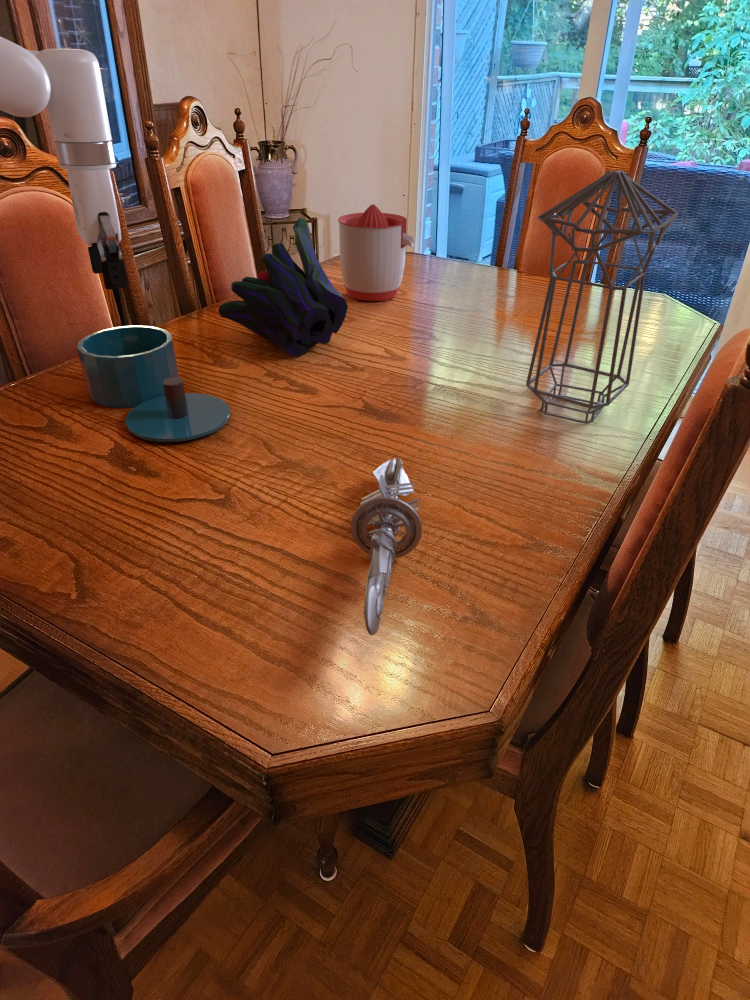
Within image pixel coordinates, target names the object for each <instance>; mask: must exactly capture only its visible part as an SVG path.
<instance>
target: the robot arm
mask: <svg viewBox="0 0 750 1000" xmlns="http://www.w3.org/2000/svg"><path fill="white" fill-rule="evenodd" d="M105 96H106V95H105V91H104V84H103V79H102V73H101V68H100V64H99V60H98V58H97V57H96V55H95V53H93V52H92V51H89V50H86V49H78V48H44V49H42V50H33V49H26V48H25V47H23V46H21V45H19V44H17V43H15V42H13V41H11V40H9V39H7V38H4V37H2V36H0V111H1V112H3V113H7V114H9V115H10V116H14V117H18V118H31V117H34V116H36V115H38V114H40V113H42V112H43V111H44V110H46V111H47V115H48V120H49V124H50V129H51V134H52V138H53V143H54V147H55V152H56V156H57V161H58V167H59V168H60V169H64V170H66V171H67V173H66V174H67V178H68V180H67V181H68V187H69V192H70V199H71V204H72V210H73V215H74V220H75V227H76V232H77V235H78V237H80V239H81V240H82V241H83V242H84V243H85V244H86V245H87V251H88V255H89V256H88V257H89V260H90V261H89V262H90V266H91V270H92V272H93V274H97V275H98V274H101V275H102V280H103V286H104V288H105V289H106V290H108V291H109V290H119V289H125V288H128V286H129V284H128V277H127V273H126V268H125V262H124V261H125V260H124V259H123V254H122V251H121V248H120V243H121V241H122V231H121V224H120V218H119V213H118V206H117V201H116V196H115V192H114V184H113V181H112V176H111V171H110V170H111V169H114V168H116V167H117V162H116V155H115V150H114V143H113V137H112V131H111V126H110V120H109V116H108V115H109V114H108V109H107V102H106V97H105Z"/></svg>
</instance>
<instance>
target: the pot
mask: <svg viewBox="0 0 750 1000" xmlns="http://www.w3.org/2000/svg"><path fill="white" fill-rule="evenodd" d="M76 351H77V354H78V359H79V363H80V366H81V370H82V374H83V378H84V382H85V385H86V390H87V394H88V395H89V397H90V400H92V402H94V403H96V404H98V405H100V406H103V407H107V408H115V409H131V408H132V409H133V408H135V407H136V406H138V405H140V404H141V403H143V402H146V401H148V400H151V399H154V398H157V397H161V396H165V394H164V389H163V383H162V382H163V380H165V379H167V378H172V377H178V378H180V374H179V368H178V363H177V357H176V350H175V345H174V339H173V334H172V333H171V332H169V331H168V330H166V329H165V328H160V327H157V326H151V325H123V326H115V327H110V328H106V329H101V330H99V331H95V332H93V333H90V334H87V335H86V336H84V337H83V338H81V339H80V340H79V341H78V343H77V346H76Z"/></svg>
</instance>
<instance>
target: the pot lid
mask: <svg viewBox="0 0 750 1000" xmlns="http://www.w3.org/2000/svg"><path fill="white" fill-rule="evenodd" d="M162 383H163V389H164V394H165V396H161V397H157V398H154V399H151V400H148V401H146V402H143V403H141V404H140V405H138V406H136V407H132V409H131V410H130V411H129V412H127V415H126V417H125V420H124V421H125V426H126V430H127V431H128V432H129V433H130V434H131V435H133V436H134V437H136V438H139V439H141V440H144V441H148V442H155V443H156V442H157V443H177V442H186V441H191V440H195V439H199V438H204V437H206V436H208V435H211V434H213V433H215V432H217V431H219V430H220V429H221V428H223V427H224V426H225V425H226V424H227V423H228V422H229V420H230V417H231V409H230V406H229V404H228V403H227V402H226V401H225V400H223V399H221V398H219V397H217V396H214V395H211V394H206V393H199V392H198V393H197V392H186V390H185V389H186V388H185V384H184V379H183V378H181V377H179V378H178V377H172V378H167V379H165V380H163V382H162Z"/></svg>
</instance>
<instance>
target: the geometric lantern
mask: <svg viewBox="0 0 750 1000" xmlns="http://www.w3.org/2000/svg"><path fill="white" fill-rule="evenodd" d="M616 184H617V187H616ZM615 187H616V188H617V189H616V190H617V191H616V208H614V207H611V206H609V204H610V200H611V198H612V195H613V192H614V189H615ZM608 188H609V189H608ZM607 189H608V191H607ZM606 191H607V195H606V197H605V199H604V203H603V204H600V203H597V202H598V201H599V200H600V199H601V197H602V196H603V195H604V193H605V192H606ZM641 193H642V194H643V195H645V196H646V197H647V198H649V199H651V200H652V201H653V202H654V203H656V204H657V205H659V206H660V207H661V208H662V209H652V208H651V206H650V205H649V204H648V202H647V201H646V200H645V198H644V197H643V195H642V194H641ZM595 195H596V196H595ZM622 195H623V197H624V199H625V202H626V204H627V207H625V206H624V207H622ZM594 196H595V197H594ZM593 197H594V199H593V200H592V201H589V200H590V199H591V198H593ZM581 204H582V205H583V206H584V207H585V208H586V209H585V211H584V212H583V213H582V215H580V217H579V218H578V220H577V221H576V222H575V221H572V217H573V214H574V211H575V209H576V208H577V207H579V206H580V205H581ZM596 209H600V210H601V212H600V213H599V211H597V210H596ZM590 212H591V213H592V214H593V215H594V216H595V217H596V218H598V220H597V223H596V226H595V228H594V229H591V228H586V227H581V224H582V223H583V222H584V220H585V219H586V217H587V216H588V215H589V213H590ZM606 212H611V213H614V214H616V215H615V217H614V220H613V223H612V224H611V222H609V221H608V220H607V219H606V218H605V215H606ZM621 212H624V213H630V215H631V218H632V220H633V222H632V225H631V228H626V229H625V228H617V227H616V224H617V222H618V219H619V216H620V214H621ZM649 215H650V217H651V219H650V217H649ZM657 215H658V216H657ZM669 215H670V216H669ZM565 216H567V218H566V219H565ZM667 216H669V217H668V218H667V219H666V220H665V221H664V222H662V221H661V220H662V219H663V218H664V219H665V218H666V217H667ZM678 216H679V213H678V211H677V210H675V209H674V208H672V207H671V206H670V205H668V204H667V203H666V202H664V201H663V200H661V199H660V198H658V197H657V196H656V195H654V194H653V193H652V192H650V191H648V189H646V188H645V187H643V186H642V185H640V184H639V183H637V182H636V181H635V180H633V179H632V178H631V177H629V176H628V175H627V174H626V173H625V171H623V170H617V169H615V170H612V171H611V170H607V171H606V172H605V173H604V174H603V175H601V176H599V178H597V179H596V180H594V181H593V182H591V183H589V184H587V185H586V186H584V187H583V188H581V189H580V190H578V191H577V192H575V193H573V194H572V195H570V196H569V197H566V199H564V200H562V201H560V202H559V203H557V204H556V205H554V206H552V207H550V208H549V209H548V210H546V211H545V212H543V213H541V214H539V215H538V216H537V217H536V219H537V220H539V221H540V222H541V223H544V224H545V226H546V227H547V228H548V229H549V230H550V231H551V235H552V237H551V247H550V260H549V273H548V275H549V282H548V286H547V289H546V290H547V291H546V295H545V300H544V303H543V307H542V312H541V317H540V321H539V325H538V329H537V334H536V339H535V342H534V347H533V351H532V355H531V360H530V365H529V368H528V374H527V378H526V383H525V386H526V387H527V388H528V389H529V390H530V391H531V393H532V394H533V395H535V397H537V398H538V399H539V400H540V401H541V406H540V409H539V412H540V413H542V414H543V415H546V416H551V417H554V418H557V419H558V418H559V419H564V420H568V421H571V422H576V423H580V424H584V425H588V424H592V423H594V422H595V420H596V419H597V417H598V416H599V414H600V413H601V411H602V410H603V409H604V408H605V407H609V406H610V405H611V403H613V402H614V400H616V399H617V398H618V397H619V396H620V395H621V394H622V392H624V391H625V390H626V389H627V387H629V385H630V380H631V374H632V368H633V361H634V354H635V347H636V341H637V336H638V328H639V322H640V315H641V309H642V301H643V296H644V289H645V282H646V276H647V275H646V272H647V270H648V267H649V265H650V262H651V260H652V258H653V255H654V253H655V251H656V249H657V247H658V246H659V245H660V243H661V241H662V240H663V238H664V237H665V235H666V233H667V232H668V230H669V229H670V228H671V226H672V225H673V224H674V222H675V220H676V219H677V217H678ZM640 217H643V219H644V221H645V223H643V224H641V222H640V220H639V218H640ZM559 218H560V219H559ZM602 223H603V224H604V225H605V226H606V227H607V228H606V229H605V228H604V229H603V228H601V226H602ZM556 224H557V225H556ZM654 224H656V225H654ZM558 225H559V227H558ZM563 226H564V227H563ZM569 227H571V233H570V232H568V231H569ZM646 228H649V230H645V229H646ZM657 231H659V232H658V236H657V238H656V240H655V237H656V232H657ZM576 232H579V233H583V234H589V235H591V247H584V246H583V247H581V246H580V247H578V246H577V245H576V244H575V243H576V242H575V239H576V238H575V236H576V235H575V233H576ZM597 234H601V235H602V234H603V235H602V237H601V238H600V239H599V240H598V241H597V243H596V244H595V242H596V241H595V239H596V235H597ZM609 234H611V235H612V234H613V235H620V234H621V235H623V236H621V237H618V238H615V239H614V240H611V241H609V242H606V243H604V244H603V242H604V241H605V239H606V238H607V237H608V235H609ZM641 234H648V235H649V236H648V241H647V248H646V252H645V254H644V255H643V257H642V254H641V251H640V248H639V244H638V241H637V237H636V236H639V235H641ZM557 237H561V238H562V239H563V240H564V241H565V243H567V244H568V245H569V247H571V251H573V254H572V255H571V257H570V258H569V259H568V260H567V262H565V263H563V264H561V265H560V266H558V267H556V268H554V263H555V262H554V261H555V250H556V249H555V248H556V238H557ZM632 238H633V242H634V245H635V249H636V253H637V255H638V259H639V263H638V265H637V266H635V267H634V266H629V265H622V264H614V263H609V262H603V260H602V257H601V255H600V251H603V250H604V249H607V248H610V247H613V246H615V245H617V244H619V243H621V242H624V241H626V240H629V239H632ZM578 253H588V254H587V255H586V257H585V258H584V259H580V256H579V254H578ZM593 254H594V255H595V258H596V260H597V261H594V260H589V259H590V258H591V257H592V255H593ZM575 257H576V259H574V258H575ZM573 259H574V260H573ZM644 262H645V263H644ZM570 264H572V265H571V268H570V273H569V278H567V277H562V276H561V274H562V273H563V272H564V271H565V270H566V269H567V267H568V265H570ZM589 264H592V265H598V266H599V267H600V269H601V272H602V274H603V277H604V279H605V282H606V284H607V285H606V284H602V283H601V284H600V283H595V282H589V281H586V275H587V271H588V266H589ZM577 265H584V266H583V270H582V274H581V279H580V280H579V279H574V276H575V272H576V267H577ZM606 267H612V268H619V269H626V270H633V273H632V274H631V275H630V277H629V279H628V281H626V283H625V285H613V284H612V281H611V279H610V276H609V273H608V272H607V269H606ZM559 270H560V271H559ZM558 271H559V272H558ZM556 272H558V274H556ZM637 272H638V273H637ZM636 274H637V277H635V276H636ZM633 278H634V279H633ZM557 280H559V281H564V282H568V283H567V285H566V286H567V287H566V291H565V295H564V299H563V304H562V309H561V313H560V317H559V322H558V326H557V330H556V335H555V338H554V343H553V348H552V351H551V356H550V360H549V364H548V365H547V366H545V368H543V369H542V365H543V359H544V353H545V347H546V343H547V342H546V341H547V336H548V332H549V331H548V330H549V326H550V319H551V313H552V308H553V301H554V297H555V289H556V285H557ZM572 283H575V284H579V288H578V293H577V297H576V298H577V299H576V303H575V309H574V313H573V318H572V323H571V328H570V333H569V338H568V343H567V348H566V352H565V358H564V362H554V361H555V357H556V353H557V349H558V345H559V340H560V336H561V331H562V328H563V322H564V319H565V315H566V310H567V306H568V301H569V297H570V293H571V290H572V289H571V288H572ZM633 284H635V287H634V290H633V296H632V301H631V306H630V310H629V315H628V320H627V324H626V329H625V334H624V337H623V338H624V339H623V344H622V348H621V352H620V358H619V363H618V367H617V372H616V373H615V368H616V362H617V355H618V349H619V342H620V337H621V330H622V323H623V316H624V310H625V304H626V296H627V290H628V288H629V287H630V286H632V285H633ZM585 285H586V286H592V287H596V288H597V287H598V288H603V289H609V291H608V295H607V301H606V307H605V311H604V319H603V323H602V329H601V334H600V341H599V347H598V353H597V356H596V357H597V358H596V362H595V363H596V364H595V368H594V369H593V368H589V367H584V366H581V365H575V364H571V363H568V362H569V358H570V353H571V348H572V344H573V340H574V334H575V330H576V325H577V319H578V314H579V310H580V305H581V300H582V295H583V291H584V286H585ZM614 291H621V297H620V302H619V303H620V304H619V310H618V317H617V322H616V330H615V337H614V342H613V343H614V344H613V348H612V349H613V350H612V357H611V364H610V370H609V372H606V371H602V370H600V368H601V362H602V357H603V351H604V344H605V339H606V335H607V334H606V333H607V328H608V322H609V317H610V311H611V304H612V298H613V292H614ZM636 303H637V304H636ZM635 309H636V310H635ZM634 314H635V316H634ZM634 317H635V318H634ZM633 318H634V324H633V330H632V336H631V337H632V338H631V344H630V352H629V358H628V364H627V372H626V378H623V376H622V375H621V374H622V369H623V365H624V359H625V356H626V351H627V346H628V342H629V337H630V332H631V327H632V323H633ZM542 331H543V333H542ZM541 336H542V338H541ZM540 341H541V344H540ZM539 345H540V350H539V356H538V362H537V368H536V372H535V373H536V374H535V376H534V377H532V376H533V370H534V367H535V362H536V357H537V353H538V349H539ZM554 367H555V368H556V367H561V375H560V381H559V383H558V382H557V378H556V375H555V372H554V370H553V368H554ZM565 368H571V369H574V370H579V371H582V372H588V373H593V374H594V375H593V381H592V387H591V389H590V388H585V387H580V386H575V385H574V386H573V385H569V384H563V382H564V376H565V375H564V374H565ZM547 371H549V372H550V374H551V377H552V380H553V383H554V385H553V386H552V388H550V390H549V391H545V390H541V389H539V388H538V387H539V382H540V377H542V376H543V375H544V374H545V373H547ZM599 375H601V376H606V377H608V383H607V385H606V386H605V387H604V388H603V389H602V390H601V391H600V390H597V384H598V378H599ZM617 379H618V380H619V381H620V382H621V383H622V384H621V385H619V386H618V387H615V388H614V389H612V387H613V383H614V382H615V381H616V380H617ZM533 383H534V385H532V384H533ZM557 387H559V390H558V394H556V393H557V392H556V391H557ZM563 387H564V388H567V389H574V390H577V391H584V392H589V393H590V398H589V400H588V399H582V398H577V397H573V396H569V395H565V394H562V389H563ZM605 392H606V393H605ZM613 393H615V394H613ZM596 394H598V396H597V401H595V397H596V396H595V395H596ZM612 394H613V395H612ZM611 395H612V396H611ZM543 396H544V397H543ZM548 398H549V399H548ZM554 399H557V400H560V401H563V402H567V403H571V404H574V405H577V406H579V407H580V406H581V407H584V408H588V409H587V410H584V409H581V408H575V407H571V406H567V405H563V404H559V403H555V402H552V400H554ZM549 406H554V407H558V408H563V409H566V410H569V411H574V412H578V413H583V414H585V418H584V420H581V419H577V418H572V417H568V416H565V415H560V414H556V413H551V412H548V407H549ZM589 415H591V417H590V420H589Z"/></svg>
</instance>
